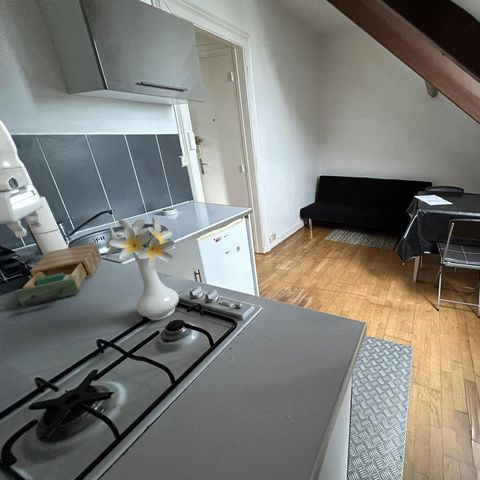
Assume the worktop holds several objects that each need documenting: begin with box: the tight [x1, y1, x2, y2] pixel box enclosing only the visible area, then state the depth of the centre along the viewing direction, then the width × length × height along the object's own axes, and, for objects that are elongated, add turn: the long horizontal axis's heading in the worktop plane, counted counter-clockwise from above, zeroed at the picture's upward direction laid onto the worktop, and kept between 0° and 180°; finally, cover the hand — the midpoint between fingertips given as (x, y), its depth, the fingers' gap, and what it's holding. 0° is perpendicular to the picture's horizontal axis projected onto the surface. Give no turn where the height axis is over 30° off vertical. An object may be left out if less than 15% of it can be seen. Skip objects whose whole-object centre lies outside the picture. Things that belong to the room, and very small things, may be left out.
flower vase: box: [105, 217, 180, 321], centre depth 63 cm, size 13×18×25 cm
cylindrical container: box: [24, 196, 69, 258], centre depth 99 cm, size 7×7×25 cm
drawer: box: [14, 262, 88, 307], centre depth 79 cm, size 21×12×5 cm, turn 30°
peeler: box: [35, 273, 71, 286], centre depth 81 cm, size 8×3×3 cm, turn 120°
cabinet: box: [29, 242, 103, 279], centre depth 92 cm, size 18×14×7 cm
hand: (30, 231), depth 71 cm, fingers open, 8 cm apart
